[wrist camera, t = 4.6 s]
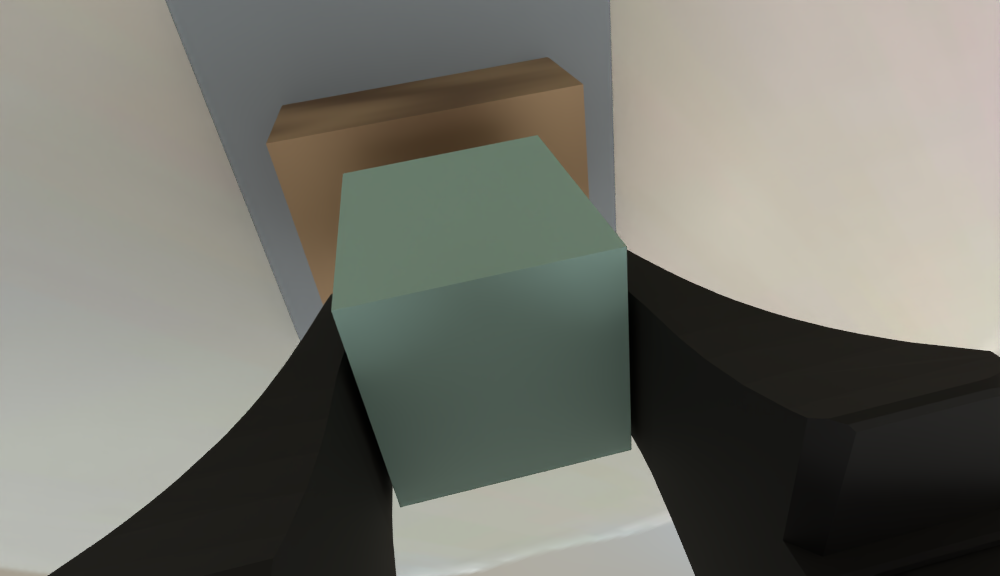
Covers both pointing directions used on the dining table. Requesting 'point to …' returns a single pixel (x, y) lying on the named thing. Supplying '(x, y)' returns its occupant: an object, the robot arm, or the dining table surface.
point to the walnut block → (416, 137)
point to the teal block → (482, 317)
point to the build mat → (373, 82)
